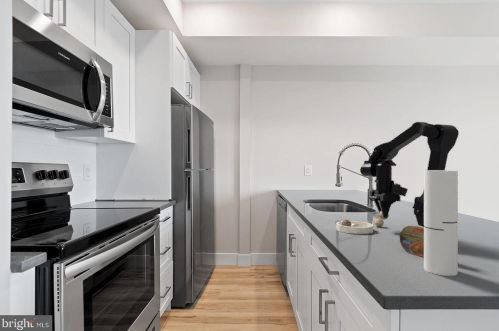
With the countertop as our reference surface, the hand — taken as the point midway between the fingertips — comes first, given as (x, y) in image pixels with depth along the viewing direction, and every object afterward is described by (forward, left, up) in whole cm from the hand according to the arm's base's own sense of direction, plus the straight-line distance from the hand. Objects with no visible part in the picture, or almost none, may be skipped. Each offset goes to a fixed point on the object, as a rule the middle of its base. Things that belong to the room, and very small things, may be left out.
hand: (383, 216), depth 121 cm
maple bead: (+9, +2, -4) cm, 10 cm away
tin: (-31, -11, -6) cm, 34 cm away
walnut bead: (-5, +14, -3) cm, 15 cm away
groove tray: (-2, +11, -6) cm, 12 cm away
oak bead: (0, 0, +1) cm, 1 cm away
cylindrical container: (-43, -13, -6) cm, 45 cm away
